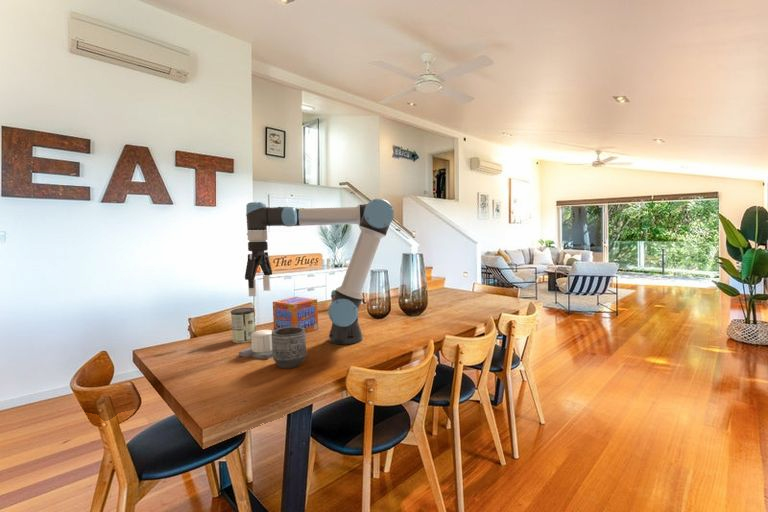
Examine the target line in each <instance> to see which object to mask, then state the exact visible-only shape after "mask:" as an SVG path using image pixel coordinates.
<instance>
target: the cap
mask: <svg viewBox="0 0 768 512" xmlns="http://www.w3.org/2000/svg"><path fill="white" fill-rule="evenodd" d="M272 331H273V330H271V329H259V330H255V332H252V333H251V341H250V342H251V347H252V351H253V352H257V353H258V352H259V353H261V352H267V351H271V350H272Z"/></svg>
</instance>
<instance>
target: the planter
mask: <svg viewBox="0 0 768 512" xmlns="http://www.w3.org/2000/svg"><path fill="white" fill-rule="evenodd" d="M306 340H307V339H306V333H305V329H304V328H302V327H283V328H279V329H276V330H274V329H273V330H272V355H273V357H272V359H273V360H274V362H275V364H276V365H277V366H278V367H279V368H281V369H293V368H296V367H299V366H301V365H302V363H303V361H304V360H305V357H306V355H307V346H306V345H307V341H306Z"/></svg>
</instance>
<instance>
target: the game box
mask: <svg viewBox="0 0 768 512" xmlns="http://www.w3.org/2000/svg"><path fill="white" fill-rule="evenodd" d="M318 308H319V307H318V299H317V298H310V297H302V296H294V297H288V298H283V299H280V300H278V299H277V300H274V301H272V319H273V331H274V330H276V329H279V328H283V327H302V328H304V329H305V334H308V333H310V332H314V331H317V330H319V312H318V311H319V309H318Z"/></svg>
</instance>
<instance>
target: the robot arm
mask: <svg viewBox="0 0 768 512" xmlns="http://www.w3.org/2000/svg"><path fill="white" fill-rule="evenodd" d="M245 209H246V213H245V216H246V228H247V231H246V236H247V241H248V242H247V251H248V252H251V253H248V254H247V261H246V262H247V263H246V268H245V273H244V279H245V280H246V281H247V283H248V297H257V282H256V281H257V280H256V279H257V278H256V275H257V271H258V267H259V266H260V269H261V271H262V273H263V275H262V285H263V292H264V291H265V292H266V291H267V292H269V291H271V276H272V275H273V270H272V265H271V263H270V259H269V252H268V250H269V248H268V247H269V246H268V227H288V228H289V227H299V226H301V227H303V226H308V227H309V226H330V225H331V226H334V225H338V226H339V225H342V226H343V225H357V226H358V227H359V229H360V233H359V236H358V239H357V242H356V244H355V247H354V250H353V253H352V256H351V258H350V261H349V264H348V267H347V269H346V271H345V272H346V273H345V274H344V277H343V281H342V283H341V285H340V286H338V287H336V289H332V290H331V293H330V298H331V302H330V305H329V306H328V309H327V310H328V311H327V314H328V317H329V320H330V321H331V322H332V324H331V327H330V330H329V334H328V341H329V343H331V344H335V345H351V344H356V343H359V342H361V341H362V340H363V332H362V330H361V329H362V328H361V326H360V323H359V309H360V307H361V304H362V303H363V302H362V301H363V299H364V297H363V295H362V291H363V289H364V285H365V283H366V279H367V277H368V275H369V272H370V269H371V266H372V263H373V261H374V257H375V255H376V252H377V249H378V247H379V244H380V241H381V239H383V238H385V237H386V235H387V234H388V230H389V228H390V224H392V222H393V220H394V218H395V212H394V208H393V205H392V204H391V203H390V202H389V201H388V200H385V199H383V198H374V199H371V200H370V201H369V202H367V203H366V204H358V205H356V206H350V207H349V206H346V207H341V206H340V207H313V208H296V207H294V206H278V207H276V206H275V207H274V206H273V207H272V206H271V207H268V206H267V205H266V203H265V202H263V201H262V202H261V201H260V202H257V201H255V202H254V201H253V202H248V203H247V204H246V208H245ZM255 278H256V279H255Z"/></svg>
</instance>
